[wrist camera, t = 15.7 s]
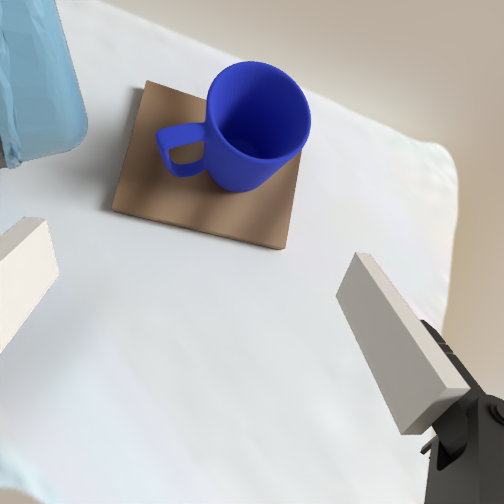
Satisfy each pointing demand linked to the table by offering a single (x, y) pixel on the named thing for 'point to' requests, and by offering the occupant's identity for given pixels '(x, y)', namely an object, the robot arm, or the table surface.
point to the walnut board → (197, 180)
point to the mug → (243, 127)
